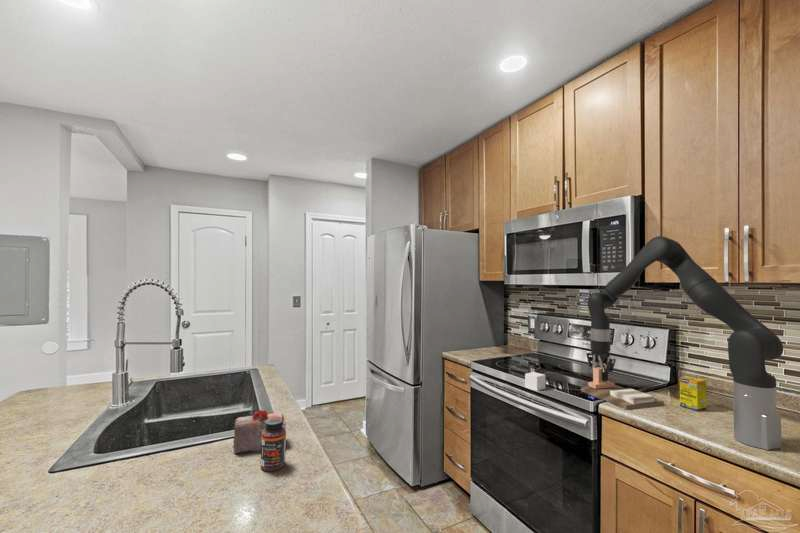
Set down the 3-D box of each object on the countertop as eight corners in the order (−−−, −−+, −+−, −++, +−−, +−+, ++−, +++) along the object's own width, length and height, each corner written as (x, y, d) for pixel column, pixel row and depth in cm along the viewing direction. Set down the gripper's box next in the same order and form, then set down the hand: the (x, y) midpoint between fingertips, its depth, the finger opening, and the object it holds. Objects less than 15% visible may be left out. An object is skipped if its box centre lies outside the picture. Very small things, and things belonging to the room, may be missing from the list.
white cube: (537, 391, 155) (537, 376, 155) (525, 387, 160) (525, 373, 160) (545, 388, 159) (545, 374, 159) (533, 385, 164) (533, 371, 164)
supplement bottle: (261, 474, 89) (261, 427, 89) (259, 462, 94) (260, 418, 94) (286, 469, 91) (287, 423, 91) (284, 458, 97) (284, 415, 97)
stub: (614, 387, 156) (614, 368, 156) (595, 388, 153) (595, 370, 153) (607, 384, 159) (607, 366, 160) (588, 386, 157) (588, 367, 157)
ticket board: (663, 405, 139) (663, 395, 139) (626, 409, 134) (626, 399, 134) (615, 387, 160) (614, 379, 160) (581, 391, 155) (581, 382, 155)
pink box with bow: (283, 436, 110) (283, 403, 110) (286, 448, 102) (287, 412, 103) (233, 445, 104) (233, 410, 104) (232, 457, 97) (233, 420, 97)
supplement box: (679, 406, 138) (679, 377, 138) (688, 404, 140) (688, 375, 141) (697, 411, 132) (697, 381, 133) (706, 409, 135) (706, 379, 135)
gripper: (621, 341, 151) (621, 383, 151) (594, 336, 165) (594, 374, 164) (606, 342, 149) (607, 385, 149) (580, 336, 163) (580, 375, 162)
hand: (600, 379), depth 157 cm, fingers open, 4 cm apart
